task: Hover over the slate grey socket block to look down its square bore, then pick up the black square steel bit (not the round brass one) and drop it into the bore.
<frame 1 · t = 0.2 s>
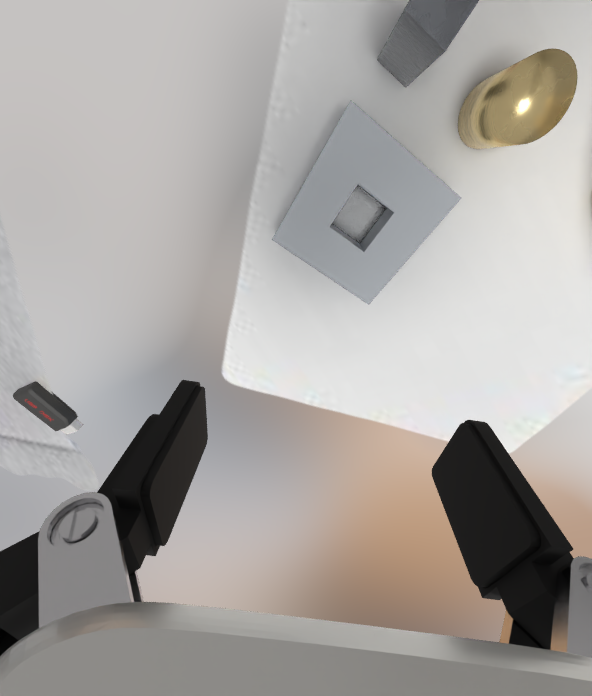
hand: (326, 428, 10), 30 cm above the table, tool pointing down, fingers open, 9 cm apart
square bit: (405, 50, 26), on the table
round bit: (488, 114, 28), on the table
socket block: (356, 214, 33), on the table
usb drive: (56, 404, 56), on the table
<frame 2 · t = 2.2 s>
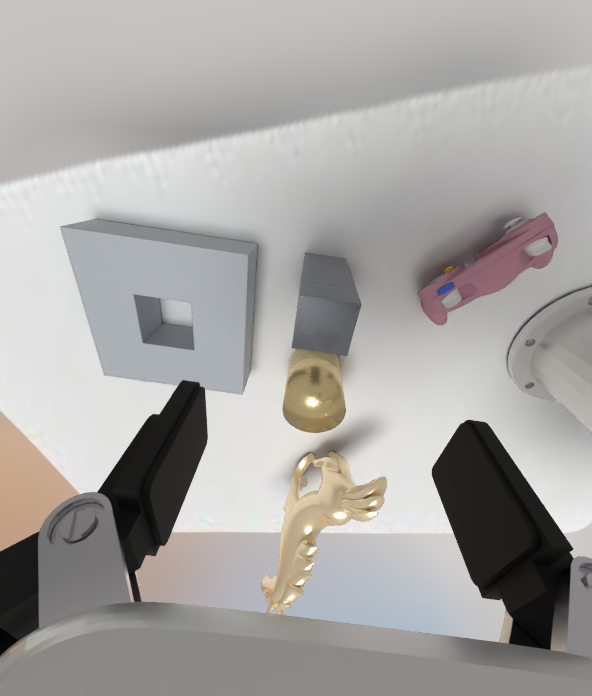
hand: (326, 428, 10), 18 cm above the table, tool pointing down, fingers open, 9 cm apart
square bit: (321, 275, 26), on the table
round bit: (314, 365, 31), on the table
socket block: (183, 305, 28), on the table
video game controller: (466, 266, 25), on the table
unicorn: (317, 453, 39), on the table
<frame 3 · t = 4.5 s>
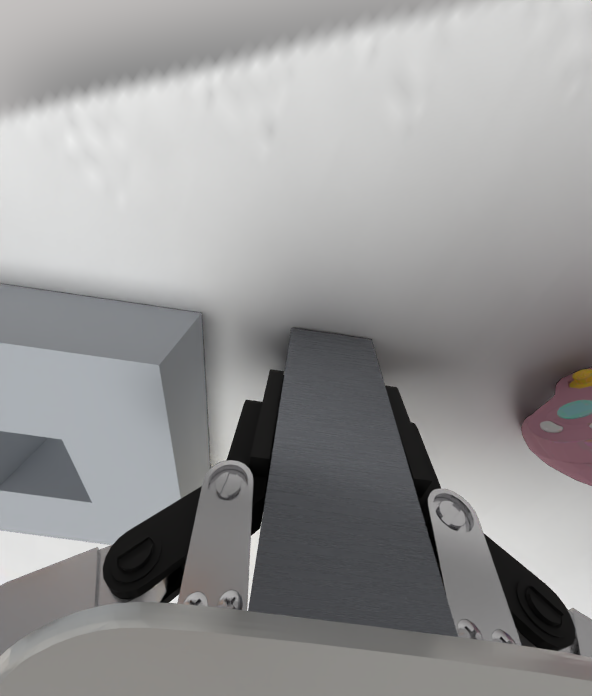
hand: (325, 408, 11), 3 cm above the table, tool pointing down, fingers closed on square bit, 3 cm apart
square bit: (324, 365, 13), on the table, touching gripper
socket block: (86, 405, 16), on the table
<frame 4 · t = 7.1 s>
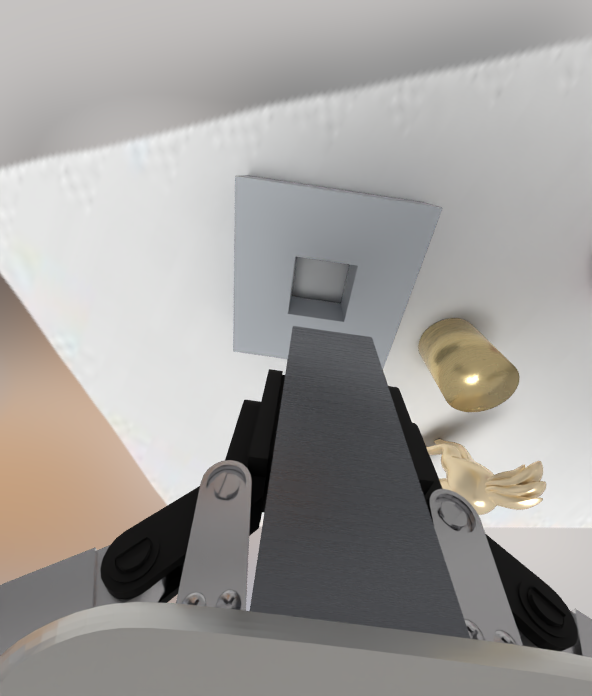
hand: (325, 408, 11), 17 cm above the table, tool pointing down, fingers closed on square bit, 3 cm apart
square bit: (325, 363, 14), point 14 cm above the table, touching gripper
round bit: (446, 342, 29), on the table
socket block: (320, 275, 26), on the table
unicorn: (421, 441, 37), on the table
when the fingers open (5 cm above the table, at t = 10.1 s): square bit drops 2 cm, resting in socket block.
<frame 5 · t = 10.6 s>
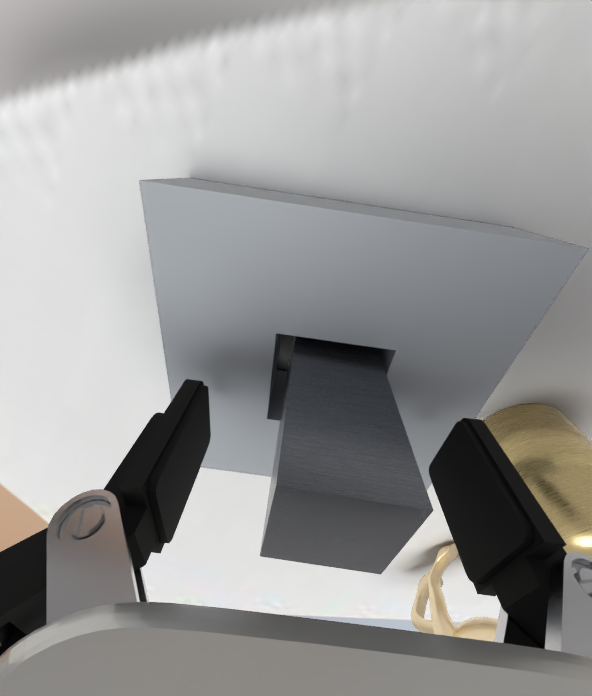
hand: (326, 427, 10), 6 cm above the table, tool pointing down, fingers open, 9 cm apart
square bit: (325, 339, 16), resting in socket block
round bit: (517, 434, 19), on the table
socket block: (323, 341, 16), on the table
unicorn: (460, 542, 27), on the table
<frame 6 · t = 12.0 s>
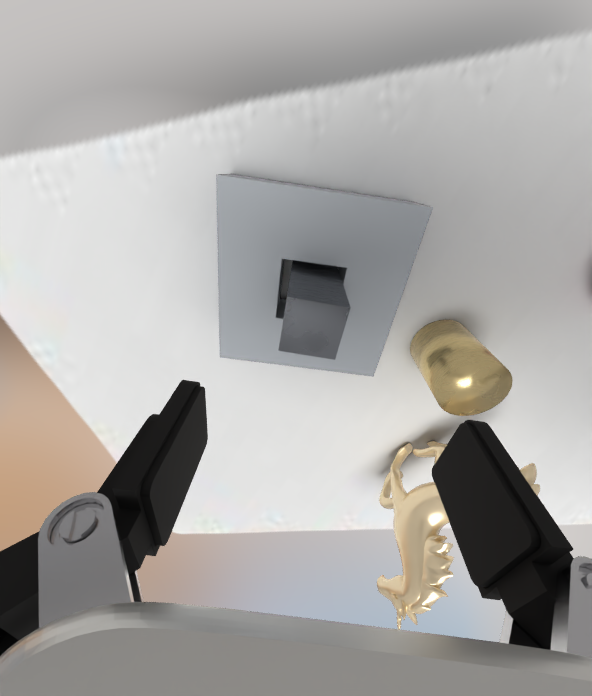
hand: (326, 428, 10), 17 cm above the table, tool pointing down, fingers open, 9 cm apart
square bit: (310, 276, 25), resting in socket block
round bit: (438, 344, 28), on the table
socket block: (309, 277, 25), on the table
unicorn: (414, 443, 37), on the table
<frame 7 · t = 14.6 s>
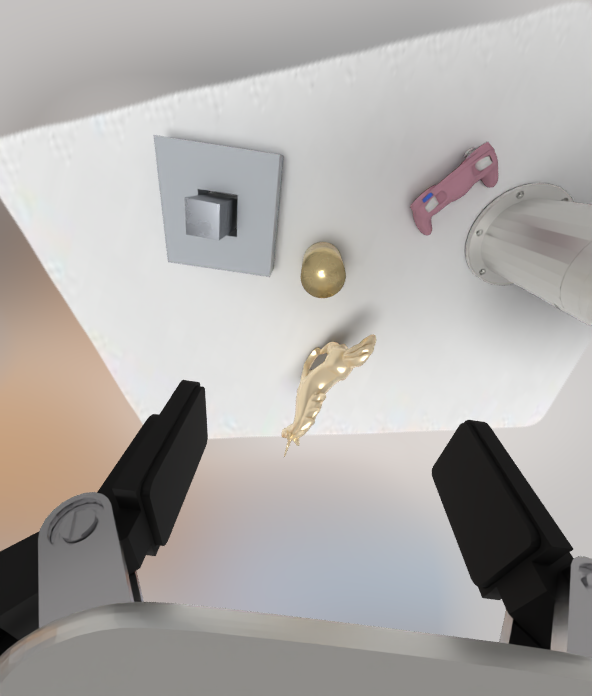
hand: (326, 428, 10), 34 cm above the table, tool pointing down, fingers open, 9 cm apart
square bit: (227, 209, 38), resting in socket block
round bit: (322, 261, 41), on the table
socket block: (226, 210, 38), on the table
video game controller: (444, 191, 36), on the table
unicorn: (323, 349, 49), on the table
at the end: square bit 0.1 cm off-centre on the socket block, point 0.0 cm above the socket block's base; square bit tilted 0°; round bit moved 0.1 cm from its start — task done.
